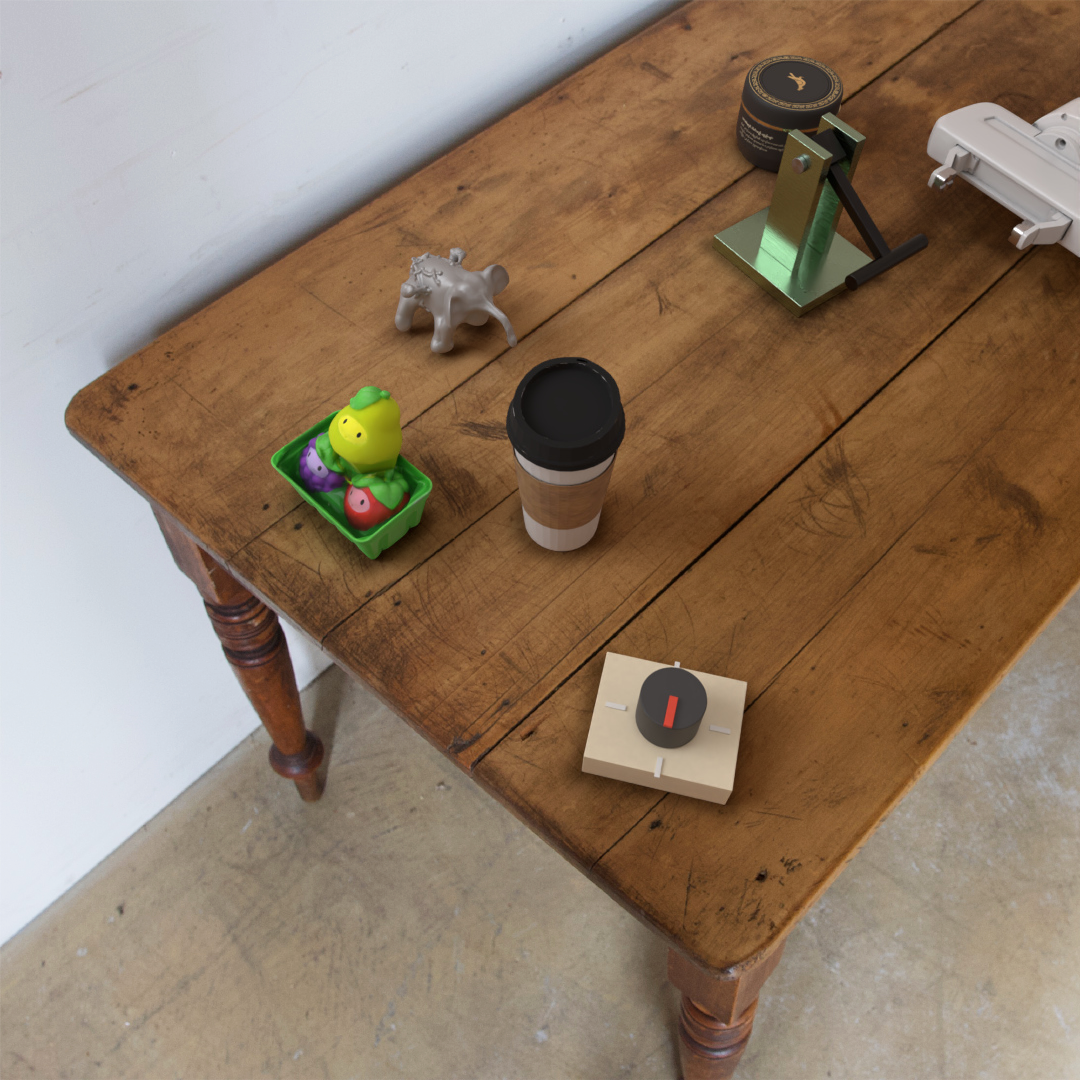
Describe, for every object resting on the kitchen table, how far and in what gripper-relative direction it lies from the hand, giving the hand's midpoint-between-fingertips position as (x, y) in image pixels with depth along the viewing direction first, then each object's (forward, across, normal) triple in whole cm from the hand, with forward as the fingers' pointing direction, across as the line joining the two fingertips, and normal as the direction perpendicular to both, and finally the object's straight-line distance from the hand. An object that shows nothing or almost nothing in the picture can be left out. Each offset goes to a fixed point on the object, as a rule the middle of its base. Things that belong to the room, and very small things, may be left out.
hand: (974, 210), depth 90 cm
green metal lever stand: (+11, -10, +7) cm, 17 cm away
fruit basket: (+60, -9, +7) cm, 61 cm away
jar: (0, -23, +7) cm, 24 cm away
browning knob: (+53, +20, +4) cm, 57 cm away
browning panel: (+53, +20, +7) cm, 57 cm away
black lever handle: (+11, -6, -2) cm, 13 cm away
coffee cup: (+48, +1, +7) cm, 48 cm away
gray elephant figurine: (+42, -20, +7) cm, 48 cm away
